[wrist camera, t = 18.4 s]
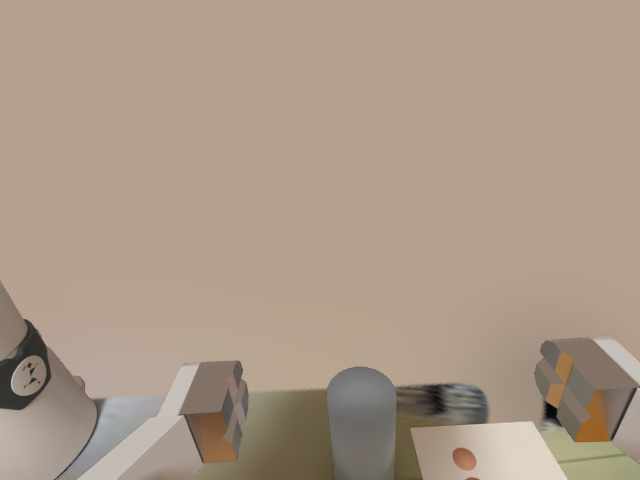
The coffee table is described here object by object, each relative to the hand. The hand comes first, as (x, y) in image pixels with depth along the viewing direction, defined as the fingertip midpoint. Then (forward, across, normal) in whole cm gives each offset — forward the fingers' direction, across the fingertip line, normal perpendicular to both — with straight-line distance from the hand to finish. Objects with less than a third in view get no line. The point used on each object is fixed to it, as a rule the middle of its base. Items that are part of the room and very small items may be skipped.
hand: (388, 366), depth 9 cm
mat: (+12, +12, -28) cm, 33 cm away
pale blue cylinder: (+12, 0, -28) cm, 30 cm away
